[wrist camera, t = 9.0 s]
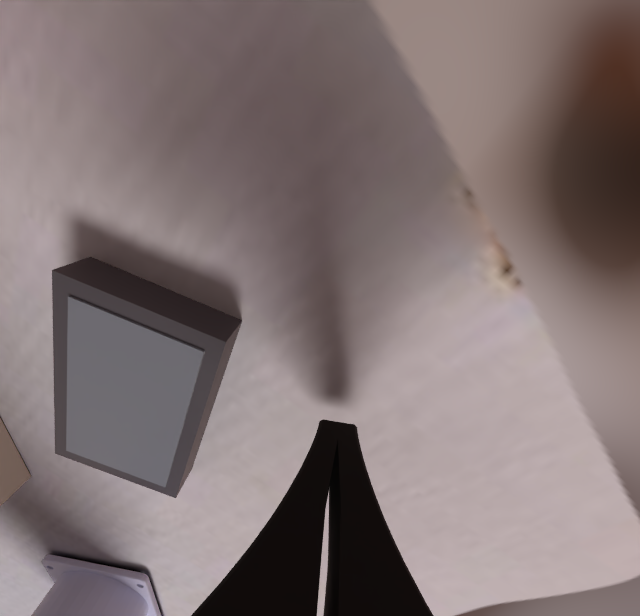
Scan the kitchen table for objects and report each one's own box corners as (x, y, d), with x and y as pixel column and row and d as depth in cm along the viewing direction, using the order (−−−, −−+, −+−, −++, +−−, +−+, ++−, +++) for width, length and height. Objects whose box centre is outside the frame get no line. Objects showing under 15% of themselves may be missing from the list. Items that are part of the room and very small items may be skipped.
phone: (195, 461, 16) (174, 499, 14) (89, 420, 16) (53, 454, 14) (246, 315, 12) (225, 343, 10) (100, 253, 11) (50, 270, 10)
